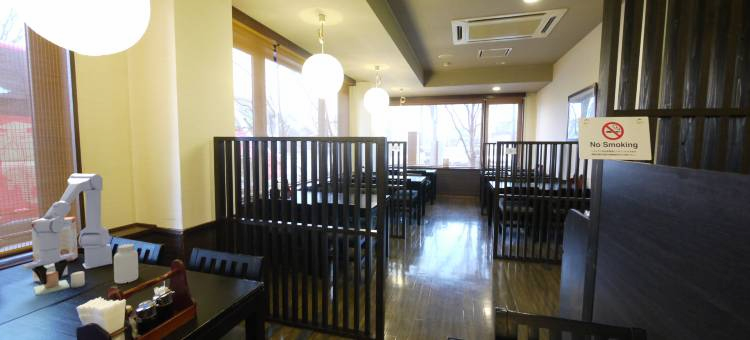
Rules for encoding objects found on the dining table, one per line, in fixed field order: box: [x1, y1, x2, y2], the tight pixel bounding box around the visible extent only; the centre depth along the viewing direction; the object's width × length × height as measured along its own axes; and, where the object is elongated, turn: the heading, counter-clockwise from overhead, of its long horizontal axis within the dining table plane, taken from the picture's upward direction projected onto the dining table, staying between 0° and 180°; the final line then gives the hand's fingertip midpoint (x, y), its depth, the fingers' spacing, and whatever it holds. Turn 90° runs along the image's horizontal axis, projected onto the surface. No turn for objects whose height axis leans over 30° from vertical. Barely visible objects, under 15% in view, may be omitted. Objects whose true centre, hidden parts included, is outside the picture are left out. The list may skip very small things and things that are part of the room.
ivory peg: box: [70, 270, 86, 288], centre depth 124 cm, size 4×4×5 cm
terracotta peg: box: [44, 271, 60, 288], centre depth 121 cm, size 4×4×5 cm
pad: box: [33, 279, 71, 297], centre depth 122 cm, size 9×9×1 cm
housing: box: [32, 263, 69, 283], centre depth 130 cm, size 9×6×6 cm
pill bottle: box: [113, 243, 139, 284], centre depth 130 cm, size 8×8×15 cm
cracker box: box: [31, 216, 79, 262], centre depth 148 cm, size 14×6×21 cm, turn 115°
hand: (51, 281), depth 121 cm, fingers closed on terracotta peg, 4 cm apart
